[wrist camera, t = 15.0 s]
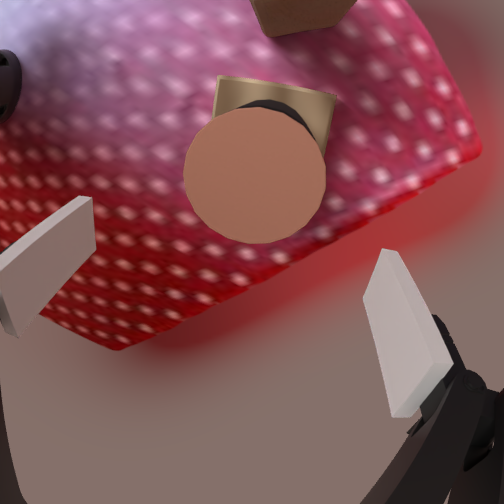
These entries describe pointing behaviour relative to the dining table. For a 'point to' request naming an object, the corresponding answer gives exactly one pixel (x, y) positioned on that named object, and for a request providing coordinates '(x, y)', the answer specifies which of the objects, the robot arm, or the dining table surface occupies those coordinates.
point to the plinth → (300, 99)
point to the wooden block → (298, 14)
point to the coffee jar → (255, 173)
